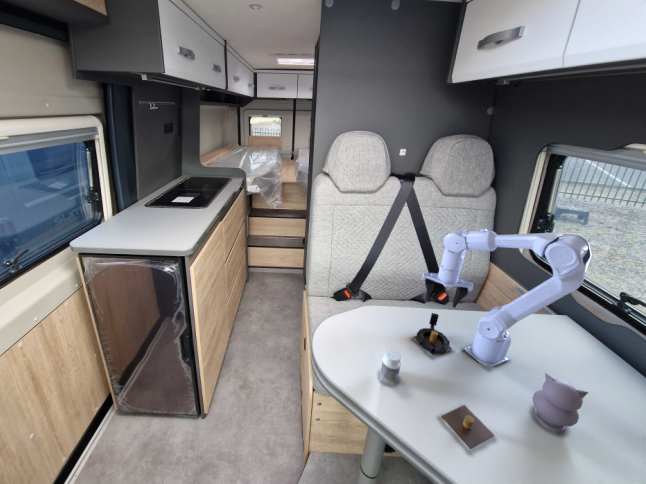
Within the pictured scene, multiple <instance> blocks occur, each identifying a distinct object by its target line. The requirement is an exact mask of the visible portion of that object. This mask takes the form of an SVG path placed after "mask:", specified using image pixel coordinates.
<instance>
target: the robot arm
mask: <svg viewBox="0 0 646 484" xmlns="http://www.w3.org/2000/svg"><path fill="white" fill-rule="evenodd" d="M443 245H444V250H443V254H442V256H441V257H442V258H441V262H440V265H439V270H438V272H437V273H435V272H426V271H424V272H423V271H422V274H421V280H422V281H424V285H425V288H426V292H427V296H426V299H427V302H431V297H432V292H433V289H434V283H438V284H441V285H443V286H444V287H446V288H449V289H451V288H452V287H456V288H455V289H456V290H455V293H454V297H453V300H452V308H454V309H456V308H457V305H458V304H459V303H460V301H462V300H463V299H464V298H465V297H467V296H468V294H469V292H472V291H473V289H474V284H473V282H471V281H467V280H464V279H461V278H460V274H461V270H462V267H463V263H464V260H465V255H466V252H467V251H469V252H470V251H471V252H472V251H473V252H474V251H476V252H494V251H495V250H496V249H497V248H505V249H506V248H509V249H523V250H524V249H525V250H532V251H533V252H534V253H535V254H536V255H537V256H538V257H540V258H542V257H544V256H545V258H546V261H547V263H548V264H549V266H550V268H551V270H552V275H553V276H551V277H549V278H548V279H547V280H544V281H543V282H542V283H540V284H538V285H537V286H535V287H533V288H532V289H530V290H528V291H527V292H526V293H523V294H522V295H520V296H519V297H517V298H515V299H514V300H512V301H510V302H509V303H506V304H503V305H502V306H493V307H492V308H491V309H490V310H489V312H487V313H486V314H485V315H484V316H483V317H482V318H479V320H478V321H477V323H476V326H477V330H476V333H475V335H474V339H473V342H472V344H471V345H469V346H467V347H464V349H463V351H465V352H466V353H467V354H468V355H470V356H471V357H472V358H473V359H474V360H475V361H477V362H478V363H479V364H482V365H484V366H485V365H486V366H488V367H491V368H492V367H493V368H494V367H496V366H499V365H500V364H503V363H505V362H507V361H509V358H508V357H507V355H508V354H507V353H508V352H509V349H510V346H511V343H512V337H511V334H510V333H509V332H508V330H509V329H511V327H513V326H515V324H517V323H518V322H520V321H522V320H524V319H525V318H527V317H529V316H531V315H532V314H534V313H536V312H539V311H540V310H542V309H543V308H545V307H547V306H549V305H551V304H553V303H554V302H557V301H558V300H560V299H562V298H563V297H566V296H567V295H569V294H571V293H572V292H574V291H576V290H578V289H579V288H580V287H581V286H582V284H583V282H584V280H585V276H586V273H587V270H588V266H589V264H590V260H591V258H592V251H591V247H590V243H589V241H588V240H587V239H586V238H585V237H583V236H582V235H581V234H577V233H564V234H563V233H562V232H541V233H540V232H539V233H515V234H514V233H513V234H512V233H511V234H497V232H495V231H494V230H488V228H480V229H479V230H468V229H457V230H455V231H452V232H450V233H448V234H446V235H445V236H444V238H443Z"/></svg>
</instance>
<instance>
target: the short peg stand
mask: <svg viewBox="0 0 646 484" xmlns="http://www.w3.org/2000/svg"><path fill="white" fill-rule="evenodd" d="M440 417H441V418H442V419H443V420H444V422H445V423H446V424H447V425H448V426H449V427H450V428H451V430H452V431H453V432H454V433H455V434H456V435H457V436H458V437H459V438H460V440H462V442H463V443H464V444H465V445H466V446H467V448H468V449H469V450H472V449H474V448H475V447H477V446H479V445H481V444H483V443H484V442H486V441H488V440H490V439H491V438H493V437H495V436H496V435H495V434H494V433H493V432H492V431H491V430H490V429H489V428H488V427H487V426H486V425H485V424H484V423H483V422H482V420H480V419H479V418H478V417H477V416H476V415H475V414H474V413H473V412H472V411H471V410H470V409H469V408H468V407H467V406H466V405H465V404H464V405H461V406H459V407H457V408H455V409H453V410H451V411H449V412H447V413H445V414H442V415H441V416H440Z"/></svg>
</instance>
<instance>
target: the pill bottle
mask: <svg viewBox="0 0 646 484" xmlns="http://www.w3.org/2000/svg"><path fill="white" fill-rule="evenodd" d="M401 359H402V355H401V353H400V352H399V351H397V350H395V349H392V348H390V349H387V350H386V351H385V353H384V355H383V357H382V361H381V367H380V371H379V379H380V380H381V381H383V380H384V382H385V381H386V382H387V383H396V382H397V381H398V379H399V374H400V371H401V368H402V367H401V366H402V362H401V361H402V360H401Z"/></svg>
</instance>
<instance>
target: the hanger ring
mask: <svg viewBox="0 0 646 484" xmlns="http://www.w3.org/2000/svg"><path fill="white" fill-rule="evenodd" d="M439 317H440V315H439V314H438V313H435V312H431V315H430V319H429V325H430V326H429V327H423V328H420V329H419V330H418V331H417V332H416V335H415V336H416V339H417V341H418V343H419V345H418V346H421V348H422V349H424V350H425V351H427V350H428V351H429V352H431V353H432V351H433V353H437V354H443V355H444V354H446V353H445V352H446V351H447V350H448V348H449V346H450V345H451V343H450V340H449V339H448V338H447V336H446V335H445V334H444V333H442V332H440V331H439V330H437V329H435V327H436V326H437V324H438V320H439ZM432 331H436V332H437V333H438V335H437V339H439V340H440V341H441V343H442V345H441V346H440V345H432V344H430V343H428V342H426V341H425V339H424V335H428V336H431V332H432ZM428 351H427V352H428ZM429 352H428V353H429ZM431 353H430V354H431Z"/></svg>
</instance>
